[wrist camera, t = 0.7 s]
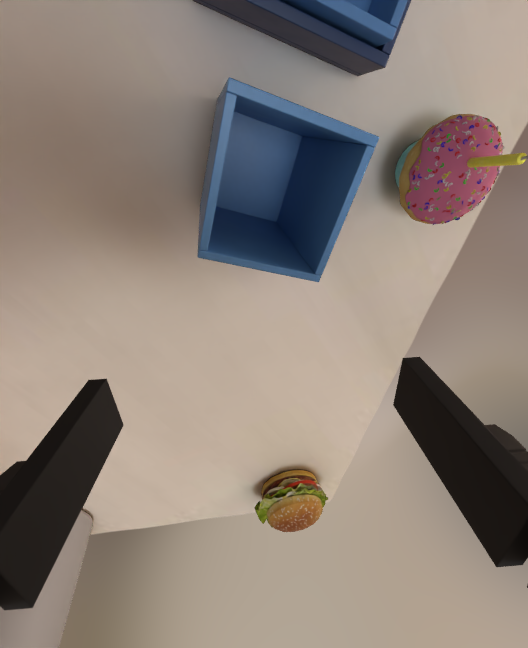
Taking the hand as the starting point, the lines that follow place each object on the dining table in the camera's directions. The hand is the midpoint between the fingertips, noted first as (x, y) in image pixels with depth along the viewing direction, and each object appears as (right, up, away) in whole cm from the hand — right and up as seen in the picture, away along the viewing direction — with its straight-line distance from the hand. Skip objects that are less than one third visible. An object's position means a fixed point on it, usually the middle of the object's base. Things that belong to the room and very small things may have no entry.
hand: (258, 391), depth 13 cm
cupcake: (+16, +19, +16) cm, 29 cm away
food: (+5, -30, +47) cm, 56 cm away
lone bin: (-1, +17, +13) cm, 22 cm away
